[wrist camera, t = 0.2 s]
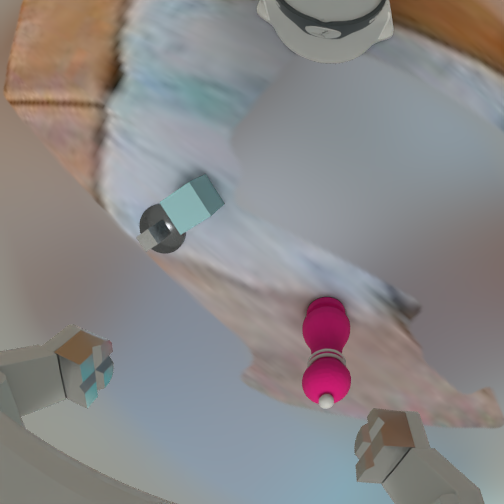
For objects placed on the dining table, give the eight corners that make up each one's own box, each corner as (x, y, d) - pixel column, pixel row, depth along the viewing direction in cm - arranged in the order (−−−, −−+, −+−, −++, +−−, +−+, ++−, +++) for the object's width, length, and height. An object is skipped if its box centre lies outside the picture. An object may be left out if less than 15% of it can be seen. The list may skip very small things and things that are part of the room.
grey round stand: (132, 220, 51) (114, 231, 46) (167, 194, 48) (150, 203, 43) (159, 259, 53) (144, 274, 48) (195, 237, 50) (182, 251, 45)
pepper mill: (294, 310, 52) (281, 402, 33) (329, 285, 49) (333, 375, 31) (322, 338, 53) (319, 432, 35) (356, 315, 50) (369, 408, 32)
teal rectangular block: (178, 192, 48) (159, 202, 42) (205, 174, 46) (189, 181, 40) (197, 220, 49) (180, 234, 43) (224, 203, 47) (210, 216, 41)
